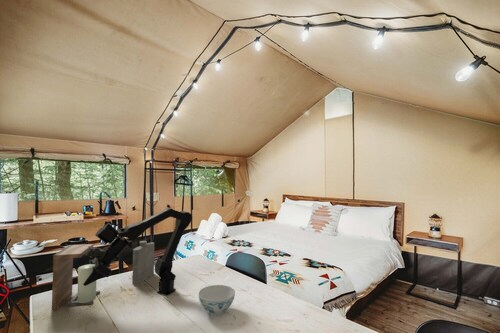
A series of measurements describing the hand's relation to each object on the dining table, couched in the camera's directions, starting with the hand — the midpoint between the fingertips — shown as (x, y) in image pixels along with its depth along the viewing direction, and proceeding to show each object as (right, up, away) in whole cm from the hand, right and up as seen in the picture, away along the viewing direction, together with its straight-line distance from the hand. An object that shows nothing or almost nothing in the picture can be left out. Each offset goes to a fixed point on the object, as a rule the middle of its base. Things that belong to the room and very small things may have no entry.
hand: (83, 282), depth 106 cm
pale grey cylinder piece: (+1, -7, +1) cm, 7 cm away
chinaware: (+54, -13, +2) cm, 55 cm away
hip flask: (+10, -14, +36) cm, 39 cm away
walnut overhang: (-9, -13, +11) cm, 19 cm away
